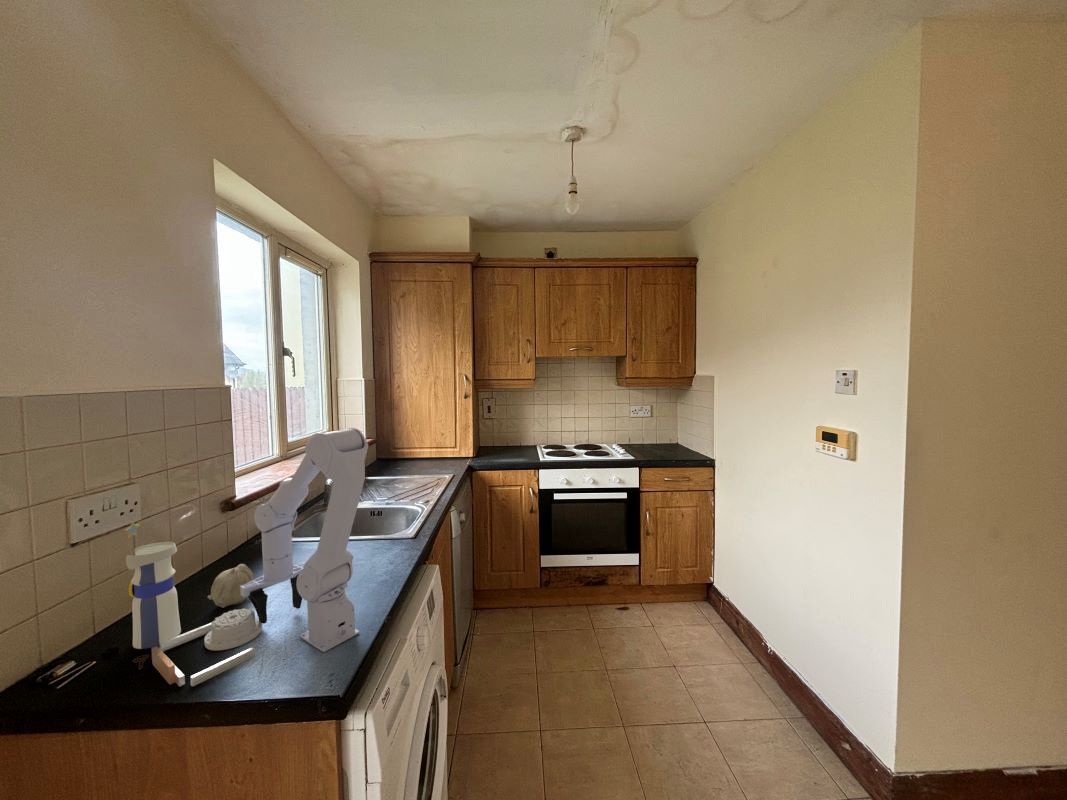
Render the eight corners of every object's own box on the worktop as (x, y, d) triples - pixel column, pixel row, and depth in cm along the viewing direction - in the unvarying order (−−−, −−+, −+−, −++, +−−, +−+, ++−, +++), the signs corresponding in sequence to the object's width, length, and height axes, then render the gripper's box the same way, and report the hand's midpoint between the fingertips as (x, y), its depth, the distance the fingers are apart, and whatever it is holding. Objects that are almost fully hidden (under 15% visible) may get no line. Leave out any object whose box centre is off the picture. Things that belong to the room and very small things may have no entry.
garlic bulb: (247, 603, 109) (258, 561, 112) (252, 610, 103) (264, 566, 106) (202, 603, 104) (215, 560, 106) (204, 611, 97) (218, 565, 100)
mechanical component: (268, 636, 91) (255, 618, 98) (267, 615, 91) (254, 599, 97) (210, 658, 84) (200, 638, 90) (208, 636, 83) (199, 617, 90)
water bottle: (120, 655, 85) (113, 531, 84) (140, 632, 93) (133, 518, 92) (172, 644, 88) (166, 525, 87) (187, 623, 96) (181, 513, 95)
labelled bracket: (254, 656, 84) (254, 640, 84) (177, 694, 74) (176, 676, 74) (218, 627, 94) (217, 612, 94) (146, 656, 84) (145, 640, 84)
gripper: (301, 541, 104) (303, 595, 105) (233, 562, 92) (236, 623, 93) (317, 547, 100) (319, 604, 101) (247, 570, 88) (250, 634, 89)
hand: (280, 614), depth 96 cm, fingers open, 7 cm apart
